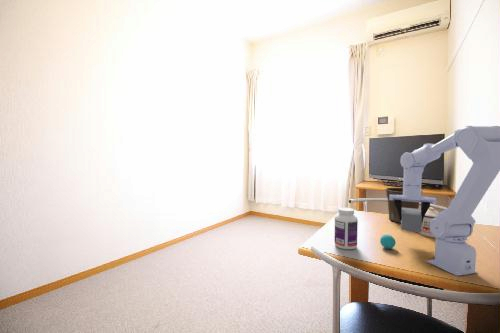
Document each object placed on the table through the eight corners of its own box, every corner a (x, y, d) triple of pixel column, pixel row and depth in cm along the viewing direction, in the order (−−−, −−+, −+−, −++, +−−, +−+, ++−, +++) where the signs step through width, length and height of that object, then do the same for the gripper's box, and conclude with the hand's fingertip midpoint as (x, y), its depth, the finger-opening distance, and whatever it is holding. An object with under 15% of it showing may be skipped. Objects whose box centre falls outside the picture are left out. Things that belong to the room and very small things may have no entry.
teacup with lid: (414, 233, 109) (415, 207, 108) (422, 229, 114) (423, 204, 114) (448, 241, 99) (449, 212, 98) (455, 236, 105) (456, 209, 104)
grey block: (421, 232, 88) (421, 215, 88) (401, 229, 91) (402, 213, 91) (418, 224, 98) (419, 209, 97) (401, 222, 101) (401, 207, 100)
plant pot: (381, 215, 139) (382, 186, 137) (415, 217, 134) (416, 187, 132) (387, 223, 123) (389, 191, 122) (426, 227, 118) (427, 193, 117)
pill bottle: (355, 243, 98) (356, 207, 97) (358, 251, 90) (359, 212, 89) (333, 241, 100) (334, 206, 99) (334, 249, 92) (335, 210, 91)
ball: (398, 250, 92) (399, 236, 91) (387, 251, 90) (387, 238, 90) (387, 244, 96) (388, 232, 96) (376, 246, 95) (377, 233, 95)
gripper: (434, 184, 93) (433, 220, 94) (390, 182, 100) (389, 215, 101) (437, 187, 87) (435, 225, 88) (389, 184, 94) (388, 220, 95)
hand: (410, 220), depth 94 cm, fingers closed on grey block, 6 cm apart
